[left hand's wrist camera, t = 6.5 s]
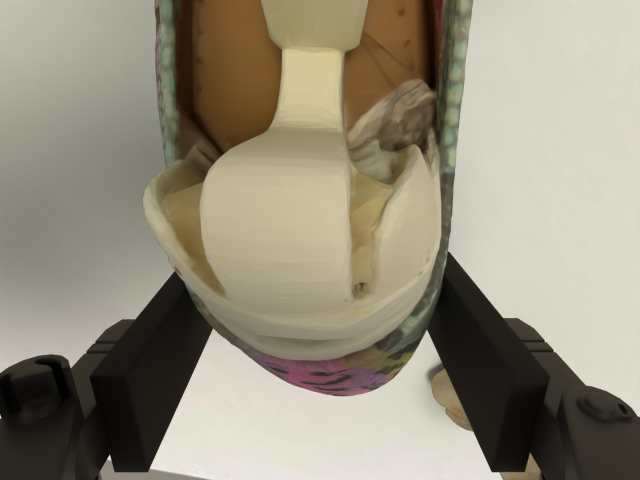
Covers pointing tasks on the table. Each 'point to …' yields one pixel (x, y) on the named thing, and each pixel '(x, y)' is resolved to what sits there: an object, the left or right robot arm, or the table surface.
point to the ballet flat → (310, 175)
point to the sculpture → (455, 411)
